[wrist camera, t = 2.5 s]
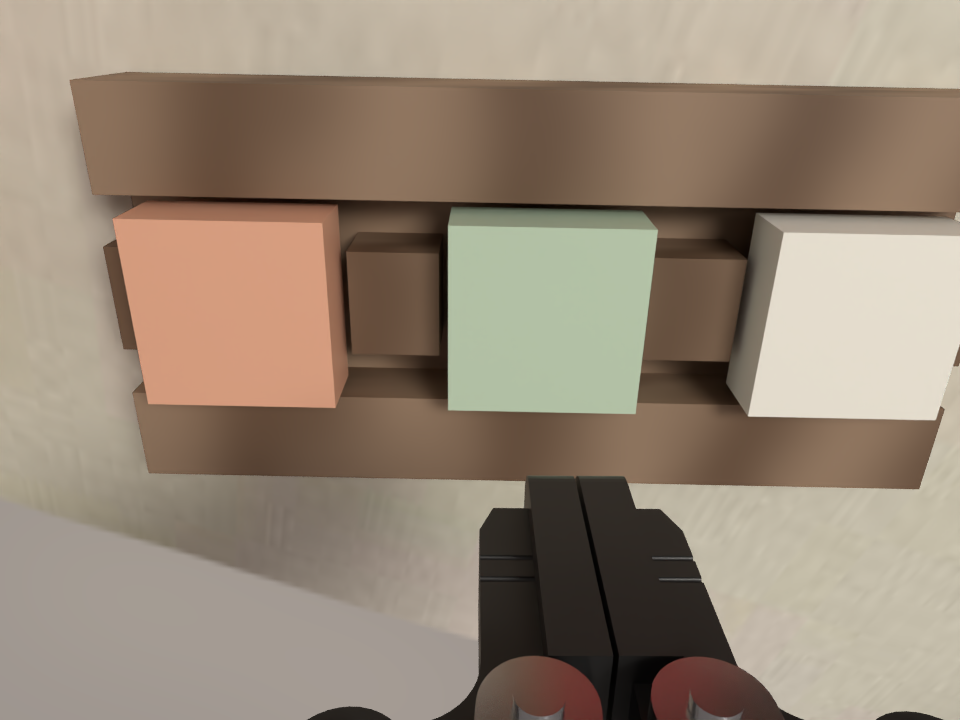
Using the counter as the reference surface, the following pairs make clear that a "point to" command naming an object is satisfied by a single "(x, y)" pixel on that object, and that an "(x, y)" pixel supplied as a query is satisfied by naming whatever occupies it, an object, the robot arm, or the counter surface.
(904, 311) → the ivory key
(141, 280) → the terracotta key
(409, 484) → the counter surface
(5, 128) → the counter surface
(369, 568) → the counter surface
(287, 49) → the counter surface
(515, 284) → the sage green key
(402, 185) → the key board
